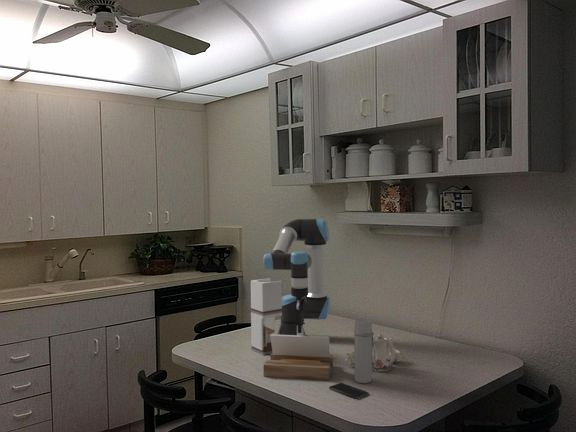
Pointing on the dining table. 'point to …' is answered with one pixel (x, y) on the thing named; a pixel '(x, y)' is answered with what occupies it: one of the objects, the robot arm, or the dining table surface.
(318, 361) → the orange rod
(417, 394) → the dining table surface
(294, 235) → the robot arm
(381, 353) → the chinaware
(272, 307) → the wood-lined white cubby
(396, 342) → the dining table surface
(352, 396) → the phone
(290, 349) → the duct cover
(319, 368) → the wooden tray
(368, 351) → the water bottle
